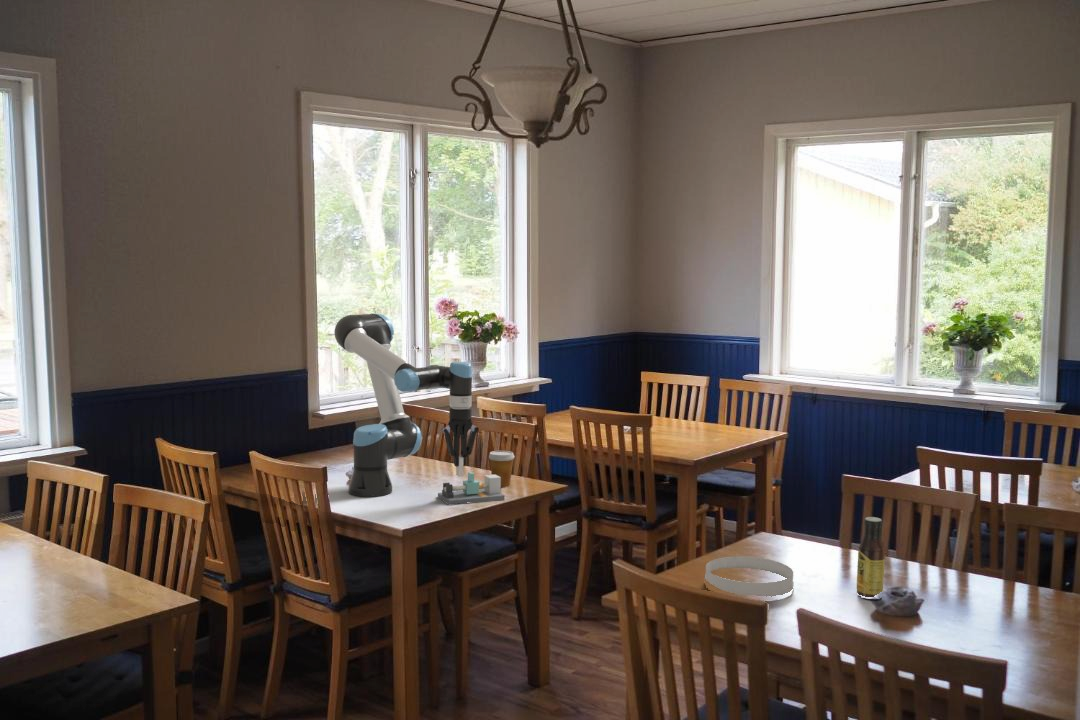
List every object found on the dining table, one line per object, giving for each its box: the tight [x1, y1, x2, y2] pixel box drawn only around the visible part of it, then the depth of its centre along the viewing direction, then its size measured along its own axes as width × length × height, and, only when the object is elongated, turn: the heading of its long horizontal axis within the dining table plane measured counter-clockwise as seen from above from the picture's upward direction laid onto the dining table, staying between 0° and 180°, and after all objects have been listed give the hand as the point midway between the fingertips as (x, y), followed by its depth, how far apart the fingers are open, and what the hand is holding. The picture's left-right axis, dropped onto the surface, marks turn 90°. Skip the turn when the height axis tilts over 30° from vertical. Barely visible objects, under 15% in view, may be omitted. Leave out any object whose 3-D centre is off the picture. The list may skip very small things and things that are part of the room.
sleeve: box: [462, 471, 480, 495], centre depth 340 cm, size 4×4×7 cm
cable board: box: [437, 474, 505, 505], centre depth 341 cm, size 12×20×7 cm, turn 115°
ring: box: [704, 555, 795, 597], centre depth 250 cm, size 22×22×5 cm
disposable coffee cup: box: [488, 450, 515, 488], centre depth 361 cm, size 10×10×12 cm
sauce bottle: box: [856, 516, 886, 597], centre depth 242 cm, size 6×6×20 cm
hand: (459, 475), depth 339 cm, fingers closed
